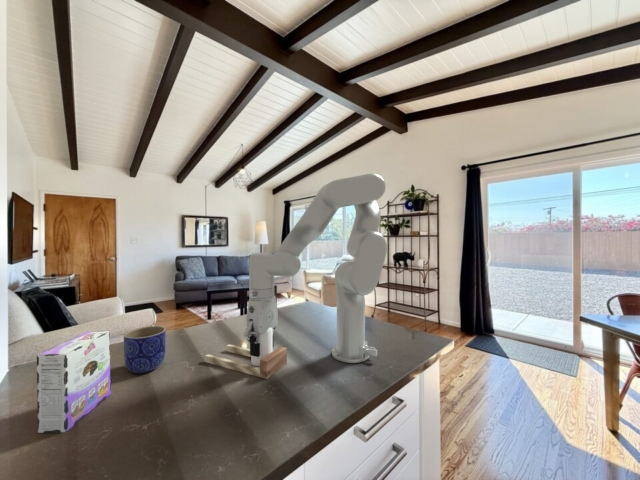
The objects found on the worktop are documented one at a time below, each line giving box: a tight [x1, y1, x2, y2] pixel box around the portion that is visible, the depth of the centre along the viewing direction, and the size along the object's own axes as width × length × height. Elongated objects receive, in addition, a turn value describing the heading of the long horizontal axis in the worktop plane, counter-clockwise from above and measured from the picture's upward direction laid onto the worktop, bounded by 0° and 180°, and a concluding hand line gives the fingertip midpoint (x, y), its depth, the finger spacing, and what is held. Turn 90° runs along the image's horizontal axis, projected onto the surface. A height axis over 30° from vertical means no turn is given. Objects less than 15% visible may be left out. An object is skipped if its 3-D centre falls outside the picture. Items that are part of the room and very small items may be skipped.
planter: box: [123, 325, 167, 374], centre depth 85 cm, size 11×11×11 cm
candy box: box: [36, 330, 112, 434], centre depth 64 cm, size 14×6×16 cm, turn 4°
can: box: [250, 327, 274, 368], centre depth 86 cm, size 6×6×12 cm
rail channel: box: [204, 343, 288, 380], centre depth 88 cm, size 24×10×5 cm, turn 64°
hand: (262, 350), depth 86 cm, fingers closed on can, 6 cm apart
